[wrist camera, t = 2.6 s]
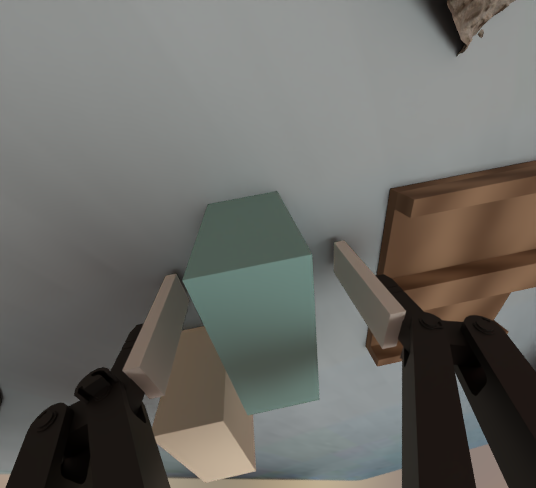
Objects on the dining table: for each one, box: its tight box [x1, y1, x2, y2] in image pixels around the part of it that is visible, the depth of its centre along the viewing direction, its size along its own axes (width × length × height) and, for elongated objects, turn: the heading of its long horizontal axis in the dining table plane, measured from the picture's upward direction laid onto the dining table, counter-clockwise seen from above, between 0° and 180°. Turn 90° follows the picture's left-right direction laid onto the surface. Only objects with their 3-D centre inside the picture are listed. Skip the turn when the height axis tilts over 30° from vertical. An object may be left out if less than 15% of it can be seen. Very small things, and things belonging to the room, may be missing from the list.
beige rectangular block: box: [152, 326, 256, 482], centre depth 19 cm, size 11×4×8 cm, turn 9°
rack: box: [366, 161, 536, 366], centre depth 18 cm, size 14×18×2 cm
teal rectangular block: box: [182, 191, 319, 415], centre depth 13 cm, size 11×4×8 cm, turn 9°
